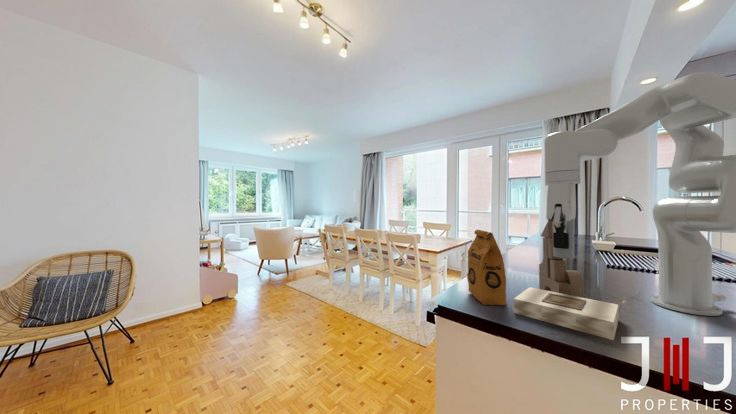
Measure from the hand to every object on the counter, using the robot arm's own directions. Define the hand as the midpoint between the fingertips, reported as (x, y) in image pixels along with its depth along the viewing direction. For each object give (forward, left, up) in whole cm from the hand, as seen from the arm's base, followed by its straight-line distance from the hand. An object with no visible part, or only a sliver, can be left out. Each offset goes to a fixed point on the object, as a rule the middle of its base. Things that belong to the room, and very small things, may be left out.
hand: (563, 246), depth 67 cm
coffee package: (+14, -14, -19) cm, 28 cm away
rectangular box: (0, 0, -19) cm, 19 cm away
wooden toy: (-10, -14, -19) cm, 26 cm away
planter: (0, 0, -3) cm, 3 cm away
